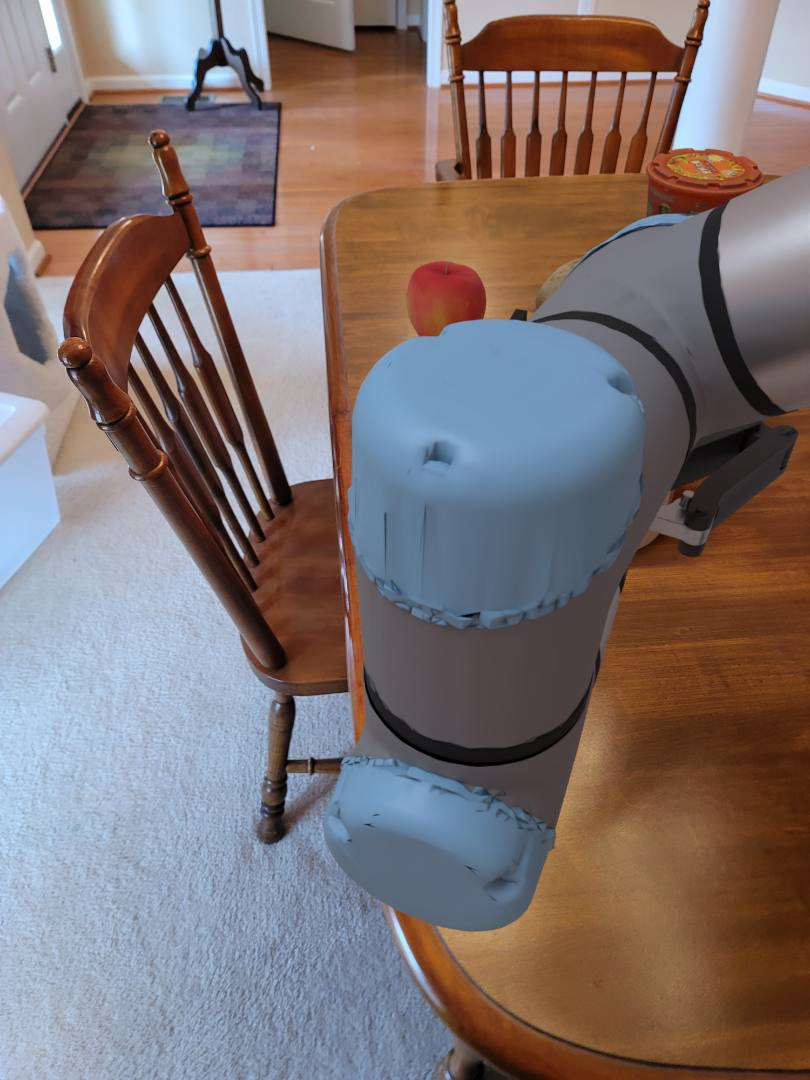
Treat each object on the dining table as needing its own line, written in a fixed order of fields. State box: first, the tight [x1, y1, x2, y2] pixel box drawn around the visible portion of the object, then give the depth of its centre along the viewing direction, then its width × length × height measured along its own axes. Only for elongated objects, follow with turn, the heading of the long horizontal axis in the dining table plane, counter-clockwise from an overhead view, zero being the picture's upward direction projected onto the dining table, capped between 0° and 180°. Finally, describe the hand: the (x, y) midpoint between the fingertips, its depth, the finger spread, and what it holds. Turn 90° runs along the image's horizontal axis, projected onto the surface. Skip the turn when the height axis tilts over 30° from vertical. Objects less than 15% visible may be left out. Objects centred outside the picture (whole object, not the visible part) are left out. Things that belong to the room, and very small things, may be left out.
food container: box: [644, 147, 765, 218], centre depth 120 cm, size 16×16×11 cm
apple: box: [405, 260, 487, 337], centre depth 98 cm, size 10×10×10 cm
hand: (625, 347), depth 52 cm, fingers open, 13 cm apart
